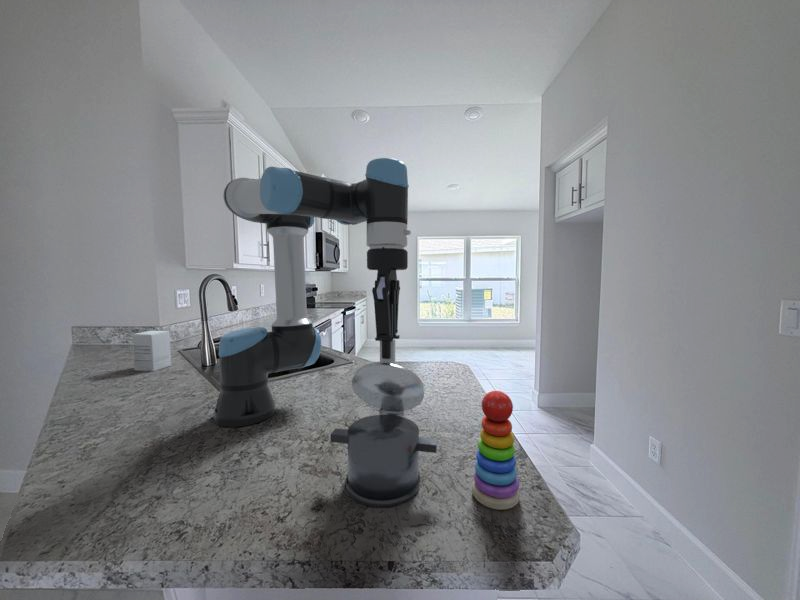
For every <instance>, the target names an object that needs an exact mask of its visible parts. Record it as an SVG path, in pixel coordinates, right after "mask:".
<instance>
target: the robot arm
mask: <svg viewBox="0 0 800 600" xmlns="http://www.w3.org/2000/svg"><path fill="white" fill-rule="evenodd" d="M408 179H409V178H408V167H407V165H406V164H405V163H404V162H403V161H401V160H399V159H396V158H391V157H380V158H374V159H372V160H370V161H369V162H368V163H367V165H366V171H365V179H363V180H361V181H359V182H356V183H352V182H347V181H343V180H339V179H333V178H329V177H324V176H319V175H315V174H310V173H305V172H302V171H298V170H295V169H294V170H293V169H291V168H287V167H277V166H268V167H267V168H265V169H264V171H263V173H262V175H261V178H249V177H238V178H235V179H232V180H231V181H229V182H228V183H227V184H226V186H225V188H224V190H223V194H222V195H223V201H224V204H225V206H226V207H227V209H228V210H229V211H230V212H231V213H232V214H233V215H235V216H236V217H238V218H240V219H243V220H244V221H248V222H251V223H259V224H264V225H265V224H266V232H267V233H268V234H269V235H270V236H271V237H272V245H273V265H274V269H273V270H274V284H275V285H274V287H275V306H276V307H275V308H276V309H275V310H276V311H275V312H276V319H275V320H274V322H273V323H271V331H268V330H267V329H266V327H260V326H257V327H247V328H241V329H238V330H234V331H231V332H227V333H225V334H223V336H222V337H221V338H220V339H219V346H218V356H219V357H218V358H219V375H220V376H219V377H220V378H219V381H220V383H219V385H220V391H219V395H218V397H217V401H216V404H215V408H214V409H213V410H214V411H213V421H214V424H216V425H218V426H220V427H226V428H227V427H228V428H235V427H244V426H245V427H246V426H251V425H255V424H258V423H260V422H264V421H265V420H267V419H270V417H272V416H273V415H274V414H275V413H276V402H275V400H274V397H273V394H272V392H271V389H270V386H269V384H268V383H269V380H268V377H269V375H270V374H272V373H278V372H285V371H290V370H294V369H302V368H305V367H309V366H311V365H314V364H315V363H316V362H317V361H318V359H319V357H320V356H321V355H320V354H321V351H322V337H321V335H320V331H319V329H318V328H317V327H314V325H313V321H312V320H311V319H310V318H309V317H308V309H307V288H306V287H307V286H306V268H305V267H306V266H305V263H306V262H305V244H304V243H305V242H304V238H305V237H306V235H307V234H308V233H309V229H310V228H311V227H313V225H314V223H315V218H318V219H323V220H331V221H332V220H333V221H336V222H337V223H338V224H339V223H340V225H344V226H348V225H350V226H351V225H352V226H353V225H355V226H356V225H358V224H361V223H365V222H366V247H368V248H369V249H368V250H367V251H366V268H367V269H368V270H370V271H377V273H376V279H375V281H374V287H372V289H371V291H372V292H371V293H372V297H373V305H374V317H375V320H374V321H375V333H376V337H375V338H374V340H375V341H376V342H379V363H390V364H395V365H396V340H399V339H400V335H399V334H398V332H399V330H398V329H399V328H398V323H399V304H400V303H399V302H400V301H399V300H400V290H401V285H400V284H401V283H400V280H399V279H398V277H397V271H405V270H407V269H408V265H409V263H408V261H409V259H408V258H409V256H408V255H409V254H408V250H407V249H405V248H406V247H407V246H408V237H407V236H410V235H411V234H412V232H411V230H410V229H408V219H409V218H408V215H409V214H408V213H409V212H408V210H409V209H408V208H409V207H408V205H409V203H408V202H409V200H408V198H409V197H408V196H409V181H408Z"/></svg>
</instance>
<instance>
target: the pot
mask: <svg viewBox="0 0 800 600" xmlns="http://www.w3.org/2000/svg"><path fill="white" fill-rule="evenodd" d="M330 443H338V444H339V443H340V444H347V474H346V477H345V478H346V479H345V482H346V483H345V486H346V487H345V488H346V491H347V493H348V494H349V497H351V498H352V499H353V500H354V501H355V502H357V503H359V504H361V505H363V506H366V507H369V508H370V507H371V508H377V509H379V508H380V509H386V508H387V509H388V508H394V507H397V506H400V505H403V504H405V503H407V502H409V501H410V500H412V499H413V498H414V497H415V496H416V495H417V494H418V492H419V490H420V487H421V476H420V472H419V467H420V466H419V462H420V461H419V460H420V458H419V457H420V456H419V455H420V452H423V453H432V454H437V451H438V438H436V437H435V438H434V437H425V436H420V429H419V426H418V425H417V424H416V422H414V421H413V420H411V419H409V418H407V417H405V416H404V417H401V416H396V415H380V414H374V415H370V416H366V417H362V418H360V419H358V420H355V421H354V422H352V423H351V424H350V425H349V426H348V429H343V428H335V429H333V431H332V432H331V433H330ZM416 493H417V494H416Z"/></svg>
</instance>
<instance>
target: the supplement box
mask: <svg viewBox="0 0 800 600" xmlns="http://www.w3.org/2000/svg"><path fill="white" fill-rule="evenodd" d="M131 336H132V337H131V338H132V352H133V354H132V356H133V370H134V371H135V372H136V371H140V372H156V371H159V370H161V369H165V368H167V367H171V366H172V353H171V352H172V351H171V335H170V330H147V331H142V332H136V333H131Z"/></svg>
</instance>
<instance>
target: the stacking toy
mask: <svg viewBox="0 0 800 600" xmlns="http://www.w3.org/2000/svg"><path fill="white" fill-rule="evenodd" d="M513 405H514V403H513V402H512V399H511V397H510V396H509V395H507V393H505V392H503V391H501V390H500V391H499V390H491V391H489V392H487V393H486V394H485V395H484V396H483V398H482V400H481V409H482V412H483V414H484V415H485V416H484V417H483V418H482V420H481V427H482V429H481V431H480V439H479V441H478V444H477V446H478V449H477V451H476V455H475V456H476V461H475V464H474V470H475V471H474V474H473V481H472V484H471V491H472V495H473V496H474V498H475V500H476V501H478V502H479V503H480V504H482V505H483V506H484V507H487V508H489V509H493V510H497V511H498V510H500V511H503V510H504V511H505V510H510V509H512V508H514V507H515V506H517V505H518V503H519V501H520V497H521V495H520V490H519V488H520V481H519V478H518V476H517V475H518V471H517V468H516V465H517V458H516V456H515V453H516V449H515V445H514V443H515V435H514V433H513V432H512V429H513V424H512V422H511V420H510V417H511V416H512V414H513V410H514V406H513Z"/></svg>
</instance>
